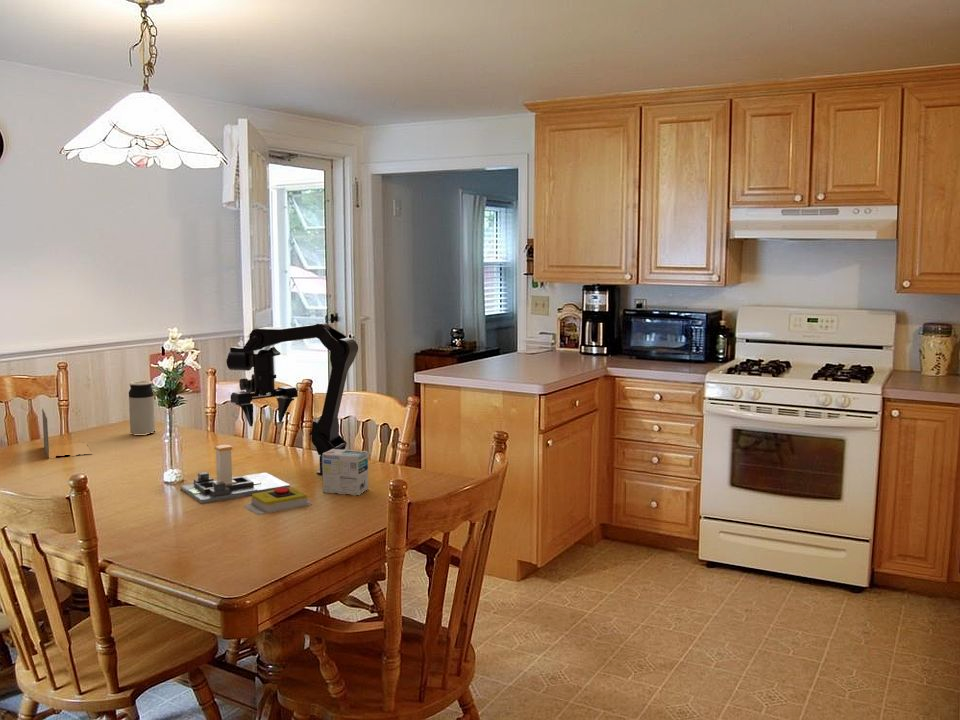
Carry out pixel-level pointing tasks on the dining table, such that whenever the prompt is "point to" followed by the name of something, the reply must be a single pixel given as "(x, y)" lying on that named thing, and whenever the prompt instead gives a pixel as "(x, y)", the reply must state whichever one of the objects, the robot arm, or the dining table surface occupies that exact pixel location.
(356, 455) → the light bulb box
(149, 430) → the travel mug
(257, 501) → the emergency button
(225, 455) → the handle
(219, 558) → the dining table surface
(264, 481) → the breaker panel
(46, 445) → the laptop
